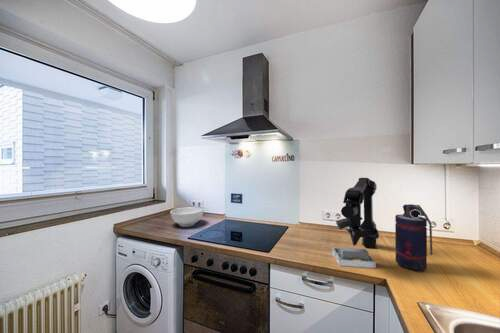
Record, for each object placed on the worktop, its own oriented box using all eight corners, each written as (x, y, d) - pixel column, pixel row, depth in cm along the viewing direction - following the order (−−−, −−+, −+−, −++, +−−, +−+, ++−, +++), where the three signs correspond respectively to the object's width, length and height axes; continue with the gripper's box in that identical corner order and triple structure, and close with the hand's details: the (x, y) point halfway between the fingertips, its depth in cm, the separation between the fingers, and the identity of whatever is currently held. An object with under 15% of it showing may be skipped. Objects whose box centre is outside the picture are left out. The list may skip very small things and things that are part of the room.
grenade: (393, 265, 96) (393, 204, 96) (397, 258, 104) (397, 201, 105) (431, 277, 86) (431, 209, 86) (433, 267, 95) (433, 205, 95)
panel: (365, 260, 100) (365, 249, 100) (368, 264, 96) (368, 252, 96) (340, 259, 102) (340, 247, 102) (342, 262, 98) (342, 250, 98)
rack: (362, 254, 109) (362, 248, 109) (375, 268, 94) (375, 261, 94) (331, 252, 111) (331, 246, 111) (339, 265, 96) (339, 258, 96)
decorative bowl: (162, 228, 155) (162, 212, 155) (183, 219, 181) (183, 206, 181) (192, 231, 147) (192, 215, 147) (209, 221, 173) (209, 208, 173)
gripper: (332, 209, 109) (332, 237, 109) (343, 218, 91) (343, 252, 91) (353, 210, 108) (353, 238, 108) (369, 219, 89) (369, 253, 89)
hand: (354, 245), depth 99 cm, fingers closed
